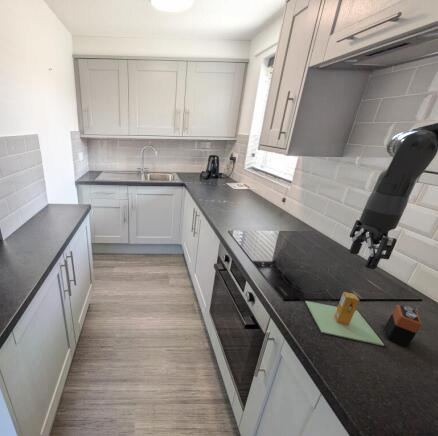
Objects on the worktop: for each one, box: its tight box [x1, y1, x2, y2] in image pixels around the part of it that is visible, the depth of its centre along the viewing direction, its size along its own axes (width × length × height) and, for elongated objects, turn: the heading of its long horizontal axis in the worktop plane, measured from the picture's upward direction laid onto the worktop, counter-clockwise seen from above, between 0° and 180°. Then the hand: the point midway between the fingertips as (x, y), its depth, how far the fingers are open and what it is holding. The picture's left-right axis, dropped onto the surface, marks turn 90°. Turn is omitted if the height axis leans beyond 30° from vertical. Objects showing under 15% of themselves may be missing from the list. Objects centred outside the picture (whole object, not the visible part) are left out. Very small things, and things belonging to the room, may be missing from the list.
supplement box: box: [334, 291, 360, 325], centre depth 73 cm, size 3×4×10 cm
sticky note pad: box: [305, 300, 385, 347], centre depth 75 cm, size 16×14×1 cm
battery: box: [384, 304, 423, 347], centre depth 68 cm, size 4×7×10 cm, turn 141°
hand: (360, 260), depth 68 cm, fingers open, 8 cm apart
